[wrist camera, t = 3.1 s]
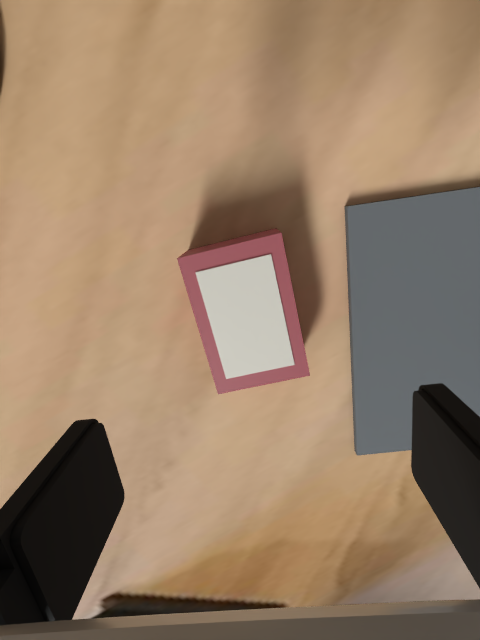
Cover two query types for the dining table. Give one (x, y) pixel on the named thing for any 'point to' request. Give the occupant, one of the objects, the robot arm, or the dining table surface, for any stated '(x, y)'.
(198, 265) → the card case
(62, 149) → the dining table surface
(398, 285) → the rubber mat
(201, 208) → the dining table surface
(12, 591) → the robot arm
